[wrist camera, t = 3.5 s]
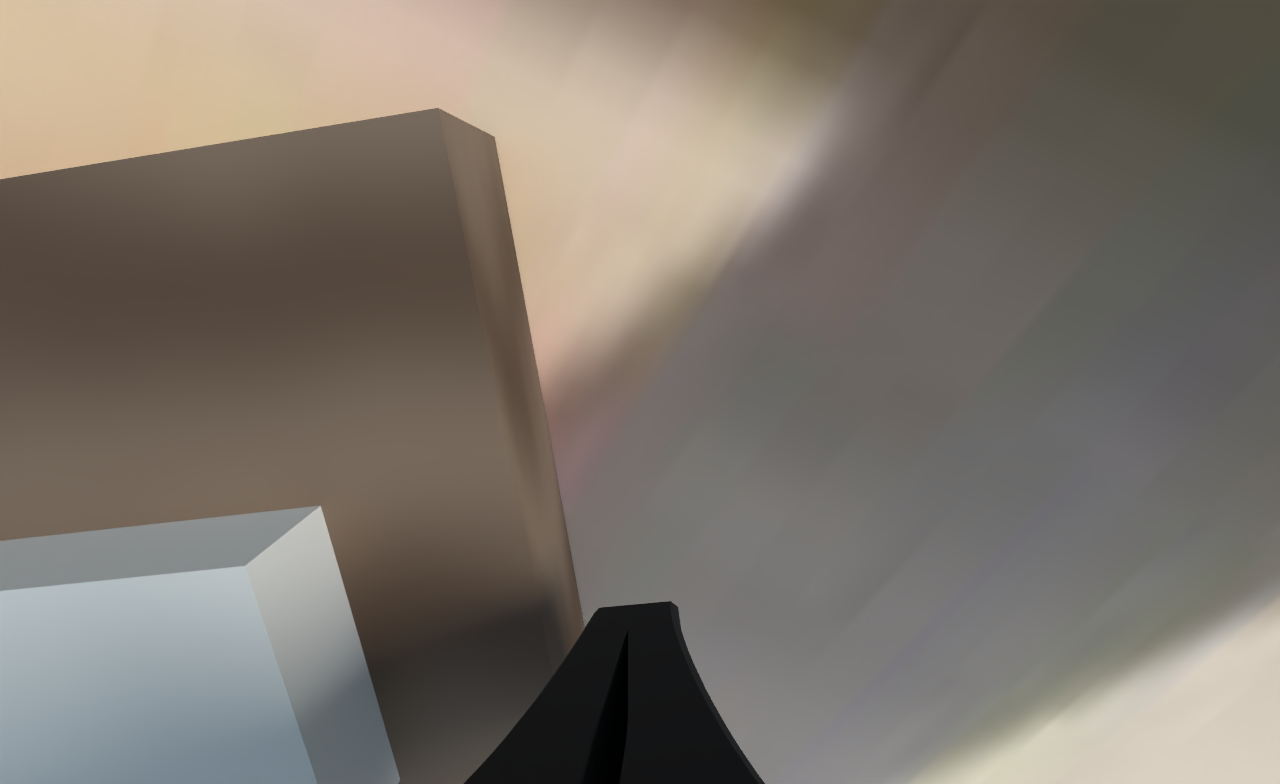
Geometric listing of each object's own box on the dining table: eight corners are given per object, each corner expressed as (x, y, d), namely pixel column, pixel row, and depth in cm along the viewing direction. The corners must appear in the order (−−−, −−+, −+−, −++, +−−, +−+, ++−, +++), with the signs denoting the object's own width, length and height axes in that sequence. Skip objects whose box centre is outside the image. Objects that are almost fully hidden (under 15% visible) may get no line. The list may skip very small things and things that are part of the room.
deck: (626, 854, 16) (616, 987, 14) (140, 882, 18) (36, 1011, 15) (494, 136, 12) (437, 107, 9) (-145, 237, 13) (-377, 240, 10)
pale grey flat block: (320, 505, 11) (245, 565, 9) (400, 779, 12) (349, 882, 10) (-134, 555, 12) (-294, 621, 10) (-6, 807, 13) (-124, 908, 11)
